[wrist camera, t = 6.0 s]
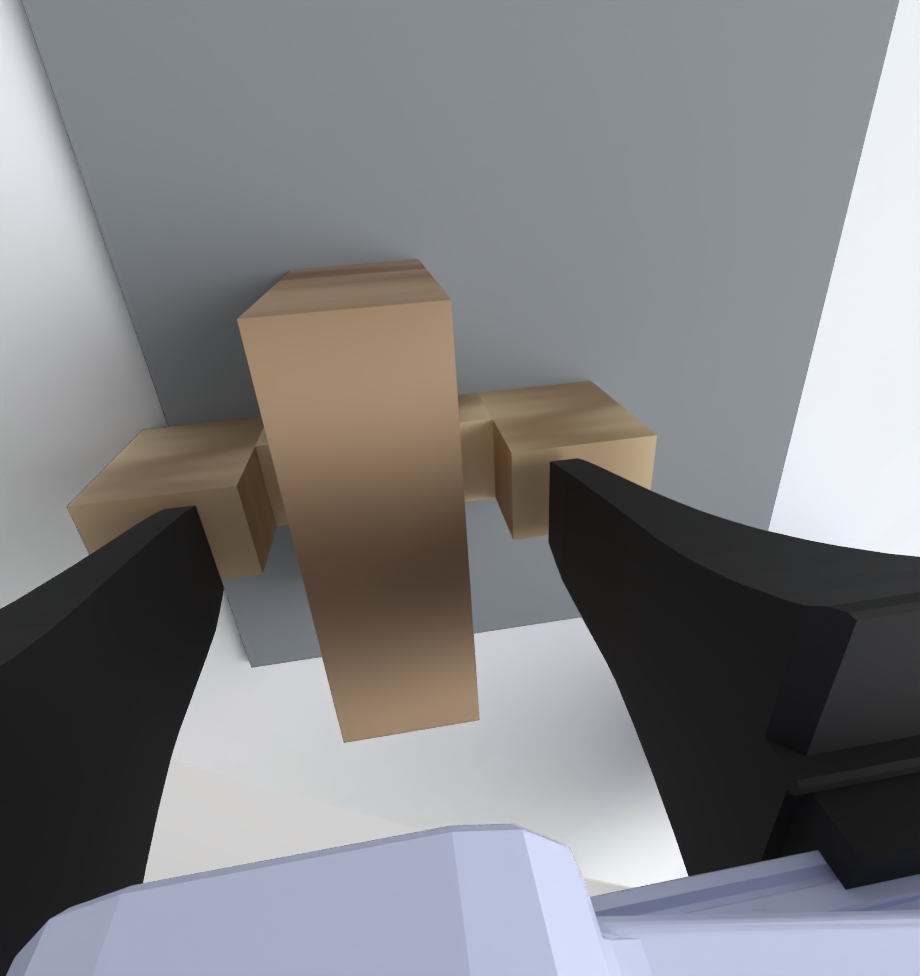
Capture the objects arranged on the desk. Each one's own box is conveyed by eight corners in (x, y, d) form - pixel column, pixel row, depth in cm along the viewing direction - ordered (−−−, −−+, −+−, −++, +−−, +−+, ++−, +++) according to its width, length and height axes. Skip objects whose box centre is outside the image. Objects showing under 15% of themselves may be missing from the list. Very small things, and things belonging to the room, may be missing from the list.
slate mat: (746, 583, 20) (753, 590, 20) (253, 658, 19) (251, 667, 18) (976, -382, 10) (999, -404, 9) (-112, -419, 8) (-133, -448, 8)
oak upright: (590, 380, 15) (656, 435, 12) (587, 452, 16) (646, 521, 13) (142, 429, 14) (66, 506, 10) (169, 503, 15) (108, 595, 12)
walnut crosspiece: (446, 562, 17) (479, 720, 12) (351, 575, 17) (343, 742, 12) (418, 259, 13) (450, 299, 8) (291, 269, 13) (236, 319, 8)
